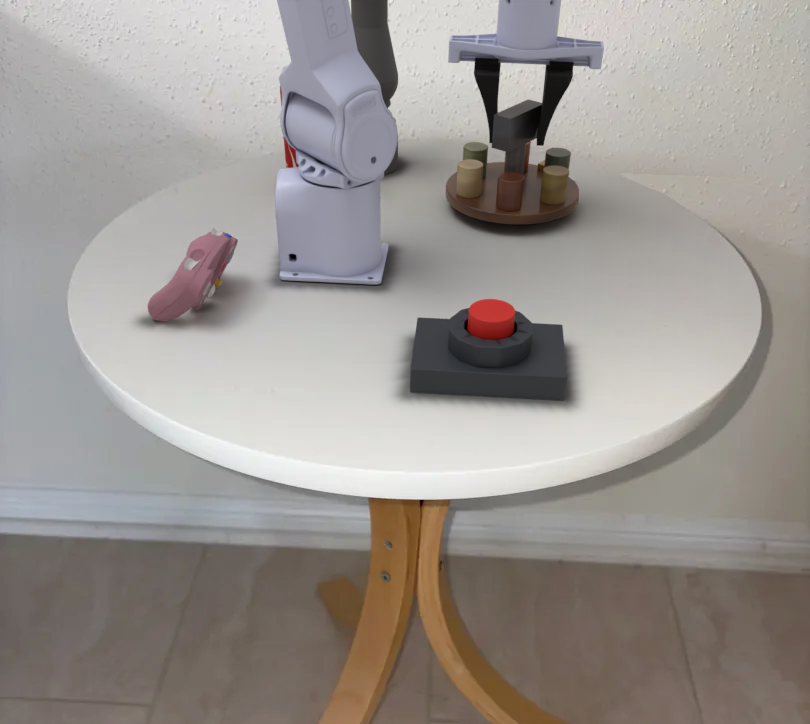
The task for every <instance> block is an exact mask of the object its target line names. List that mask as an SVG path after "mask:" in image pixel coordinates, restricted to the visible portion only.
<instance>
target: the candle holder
mask: <svg viewBox="0 0 810 724" xmlns="http://www.w3.org/2000/svg"><path fill="white" fill-rule="evenodd" d="M388 4H389V0H350V11H351V17H352V22H353V28H354V33H355V39H356V44H357V50H358V52H359V54H360V55H361V57H362V58H363V60H364V61H365V63H366V64H367V65H368V67H369V68H370V70H371V71H372V73H373V74H374V76H375V77H376V79H377V80H378V82H379V84H380V87H381V93H382V97H383V101H384V103H385V105H386V107H387V109H388V110H389V111H390V109H389V107H391V103H392V101H391V99H392V98H393V97H394V95H395V94H396V92H397V89H398V85H399V71H398V66H397V61H396V58H395V53H394V46H393V43H392V42H393V41H392V38H391V32H390V28H389V27H390V26H389V8H388V7H389V5H388ZM390 113H391V114H392V115H393V113H392V112H391V111H390ZM394 119H395V122H396V123H397V120H396V117H394ZM398 168H399V140H398V141H397V147H396V151H395V154H394V157H393V159H392V161H391V163H390V165H389V166H388V168H387V169H386V170H385V171H384V176H386V175H388V174H391V173H395V172H396V170H397V169H398Z"/></svg>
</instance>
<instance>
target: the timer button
mask: <svg viewBox="0 0 810 724" xmlns="http://www.w3.org/2000/svg"><path fill="white" fill-rule="evenodd" d="M468 308H469V314H468V332H469V333H470V334H471V335H472V336H475V337H478V338H481V339H484V340H500V339H504V338H508V337H510V336H511V335H512V334H513V331H514V321H515V311H516V309H515V307H514V305H512V304H511V303H509V302H508V301H505V300H501V299H497V298H496V299H495V298H484V299H480V300H476V301H474V302H473V303H471V304H470V306H469V307H468Z"/></svg>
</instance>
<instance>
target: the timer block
mask: <svg viewBox="0 0 810 724" xmlns="http://www.w3.org/2000/svg"><path fill="white" fill-rule="evenodd" d="M468 314H469V307H467V308H463V309H460V310H459V311H458V312H456V313H455V314H454V315H452V316H451V317H450V318H439V317H438V318H436V317H419V316H418V317H417V318H416V325H415V326H416V327H415V332H414V339H413V340H414V341H413V347H412V355H411V362H410V368H409V393H413V394H429V395H430V394H431V395H432V394H433V395H448V396H469V397H470V396H471V397H485V398H487V397H488V398H504V399H505V398H506V399H520V400H521V399H523V400H539V401H540V400H542V401H556V402H557V401H559V402H563V401H564V400H565V395H566V387H567V382H568V373H567V360H566V349H565V338H564V327H563V326H564V325H563V324H556V323H538V322H532V321H531V320H530V319H529V318H528V317H527V316H525V315H524V314H523V313H522V312H521V311H517V310H515V321H514V331H513V334H512V335H511V336H510V337H508V338H504V339H500V340H484V339H481V338H478V337H475V336H472V335H471V334H470V333H469V332H468Z"/></svg>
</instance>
